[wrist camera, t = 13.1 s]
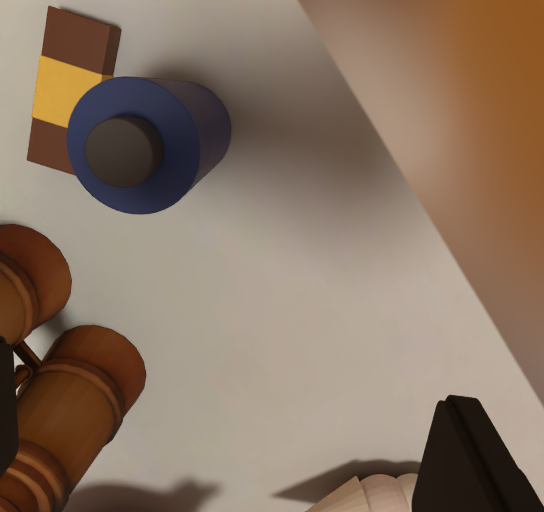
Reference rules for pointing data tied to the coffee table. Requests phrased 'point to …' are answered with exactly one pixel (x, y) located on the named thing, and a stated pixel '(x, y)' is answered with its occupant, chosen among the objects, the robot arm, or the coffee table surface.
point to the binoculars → (57, 378)
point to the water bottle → (145, 141)
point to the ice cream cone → (370, 495)
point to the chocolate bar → (67, 80)
